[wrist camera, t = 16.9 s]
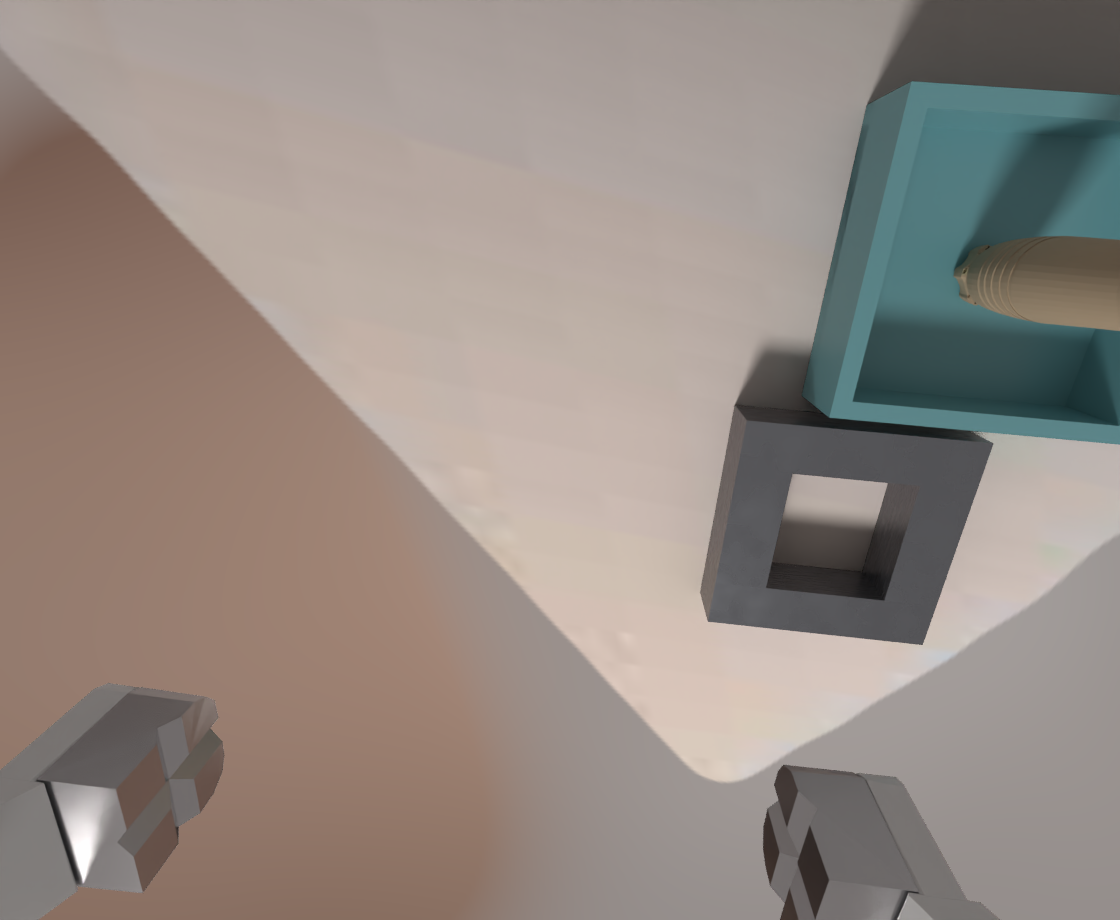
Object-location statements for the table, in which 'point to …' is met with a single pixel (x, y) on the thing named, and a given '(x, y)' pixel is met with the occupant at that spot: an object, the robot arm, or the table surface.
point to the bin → (943, 245)
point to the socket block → (898, 541)
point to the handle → (1047, 280)
